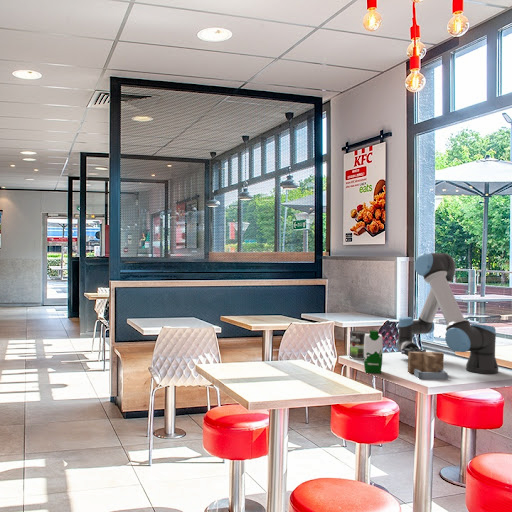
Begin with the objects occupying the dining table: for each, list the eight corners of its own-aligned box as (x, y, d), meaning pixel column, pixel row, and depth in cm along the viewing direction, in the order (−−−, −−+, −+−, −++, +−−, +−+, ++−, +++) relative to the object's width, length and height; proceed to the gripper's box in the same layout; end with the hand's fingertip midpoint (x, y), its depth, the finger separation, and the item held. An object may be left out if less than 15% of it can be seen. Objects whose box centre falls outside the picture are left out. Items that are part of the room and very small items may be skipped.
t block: (440, 372, 298) (441, 352, 298) (448, 377, 286) (449, 356, 286) (407, 372, 298) (408, 351, 298) (414, 377, 286) (414, 355, 286)
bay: (441, 375, 291) (441, 369, 291) (447, 379, 282) (447, 373, 282) (414, 375, 291) (414, 368, 291) (419, 379, 282) (419, 372, 282)
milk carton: (364, 373, 293) (365, 331, 292) (362, 369, 302) (363, 328, 301) (382, 374, 292) (383, 332, 291) (380, 370, 301) (381, 329, 300)
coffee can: (360, 360, 327) (361, 333, 327) (345, 357, 335) (346, 331, 335) (372, 358, 334) (373, 332, 334) (357, 355, 342) (357, 330, 342)
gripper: (422, 356, 324) (435, 364, 300) (397, 356, 323) (409, 364, 300) (422, 342, 324) (436, 349, 300) (397, 341, 323) (409, 349, 300)
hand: (422, 357), depth 300 cm, fingers closed
